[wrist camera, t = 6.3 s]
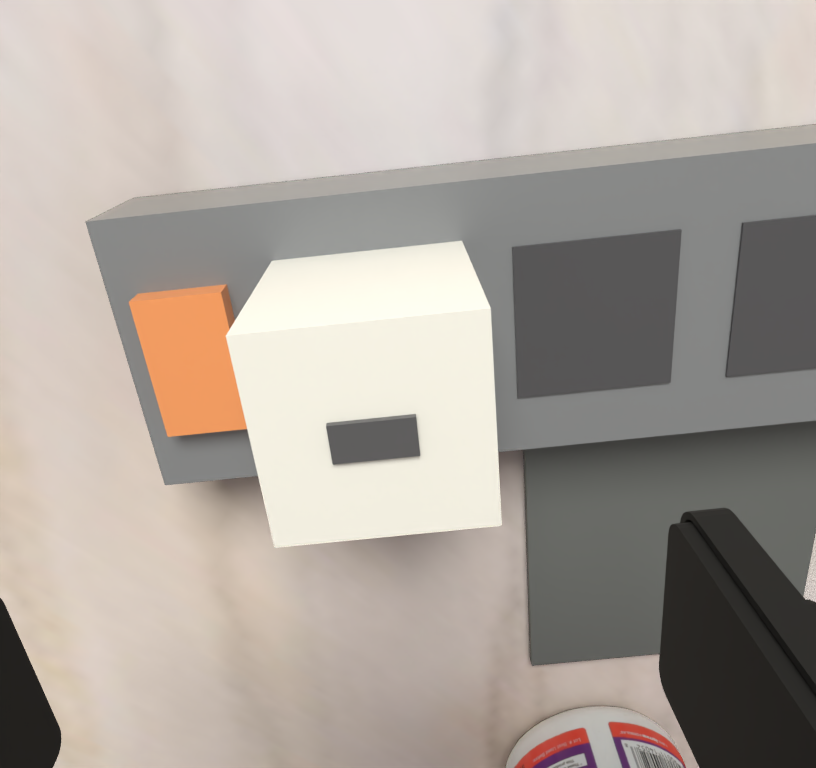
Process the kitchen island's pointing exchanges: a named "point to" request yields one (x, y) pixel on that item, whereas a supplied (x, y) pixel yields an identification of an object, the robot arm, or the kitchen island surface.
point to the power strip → (507, 286)
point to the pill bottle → (596, 741)
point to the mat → (650, 527)
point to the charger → (370, 394)
